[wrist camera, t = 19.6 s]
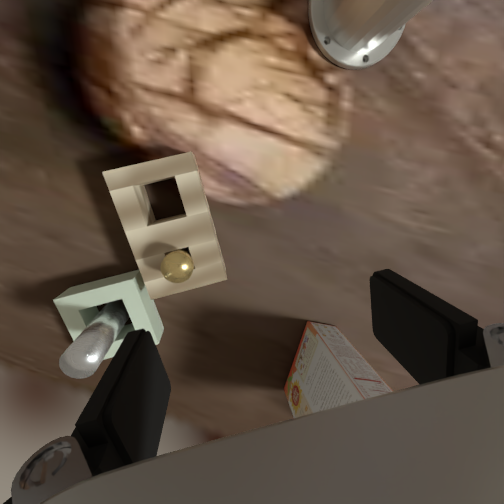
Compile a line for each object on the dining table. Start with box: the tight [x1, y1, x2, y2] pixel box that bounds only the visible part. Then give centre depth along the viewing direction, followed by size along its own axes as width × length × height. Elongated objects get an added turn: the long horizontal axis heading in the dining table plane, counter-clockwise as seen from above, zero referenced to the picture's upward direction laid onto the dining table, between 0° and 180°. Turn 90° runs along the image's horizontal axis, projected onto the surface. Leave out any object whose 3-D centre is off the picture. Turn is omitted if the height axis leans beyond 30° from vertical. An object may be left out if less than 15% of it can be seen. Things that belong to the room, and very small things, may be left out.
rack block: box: [53, 270, 164, 360], centre depth 36 cm, size 10×10×4 cm
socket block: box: [102, 152, 227, 300], centre depth 33 cm, size 16×10×5 cm, turn 13°
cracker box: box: [284, 321, 394, 418], centre depth 35 cm, size 14×6×21 cm, turn 164°
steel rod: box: [59, 299, 130, 378], centre depth 32 cm, size 4×4×12 cm
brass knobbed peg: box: [161, 247, 194, 283], centre depth 33 cm, size 4×4×8 cm
